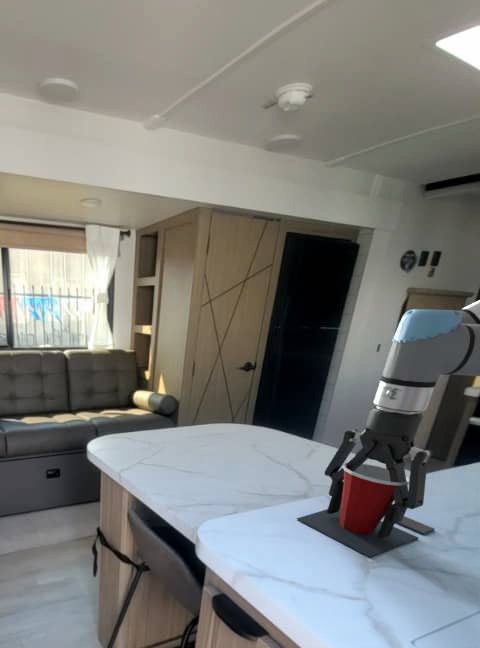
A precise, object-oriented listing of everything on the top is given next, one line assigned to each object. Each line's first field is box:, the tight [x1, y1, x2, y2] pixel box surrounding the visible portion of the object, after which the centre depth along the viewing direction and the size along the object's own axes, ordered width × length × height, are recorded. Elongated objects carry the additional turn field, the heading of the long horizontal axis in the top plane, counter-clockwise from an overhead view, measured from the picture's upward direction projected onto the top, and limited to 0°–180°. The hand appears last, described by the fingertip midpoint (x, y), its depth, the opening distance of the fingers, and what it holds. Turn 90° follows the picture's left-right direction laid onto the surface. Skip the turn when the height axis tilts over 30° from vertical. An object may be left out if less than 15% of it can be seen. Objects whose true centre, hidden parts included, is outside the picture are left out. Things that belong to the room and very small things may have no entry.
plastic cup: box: [340, 462, 410, 535], centre depth 77 cm, size 11×11×12 cm
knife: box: [384, 514, 435, 536], centre depth 85 cm, size 16×4×1 cm, turn 27°
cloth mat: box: [296, 506, 419, 559], centre depth 79 cm, size 15×15×1 cm
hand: (356, 523), depth 79 cm, fingers open, 9 cm apart
